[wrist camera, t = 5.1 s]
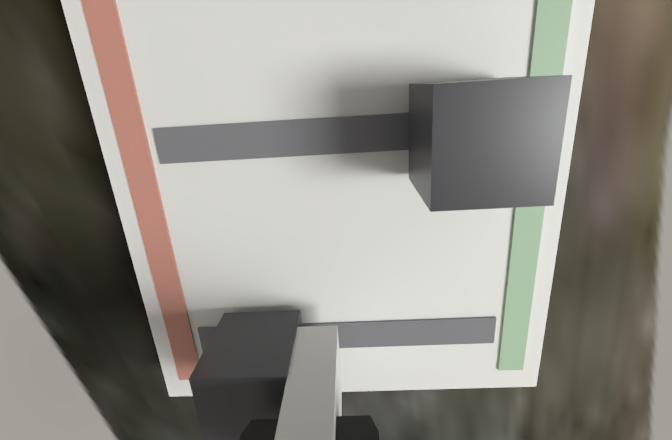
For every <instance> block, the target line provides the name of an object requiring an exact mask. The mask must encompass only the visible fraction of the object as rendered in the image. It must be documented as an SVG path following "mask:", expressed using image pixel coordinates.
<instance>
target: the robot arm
mask: <svg viewBox="0 0 672 440" xmlns="http://www.w3.org/2000/svg"><path fill="white" fill-rule="evenodd" d="M341 405H342V379H341V365H340V352H339V338H338V325H336V326H309V327H297V332H296V337H295V342H294V347H293V352H292V357H291V362H290V367H289V372H288V377H287V380H286V385H285V390H284V395H283V399H282V404H281V409H280V414H279V419H252V420H251V421H250V423H249V424H248V425H247V427H246V428H245V429H244V431H243V432H242V433H241V435H240V438H239V440H379V433H378V429H377V427H376V426H375V424H374V422H373V420H372V418H371V417H370V415H369V416H341Z"/></svg>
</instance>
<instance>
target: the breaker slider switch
mask: <svg viewBox="0 0 672 440" xmlns="http://www.w3.org/2000/svg"><path fill="white" fill-rule="evenodd" d="M297 327H302V321H301V312H300V310H285V311H259V312H233V313H224V314H223V316H222V318H221V320H220V321H219V323H218V325H217V327H216V329H215V331H214V333H213V335H212V336H211V338H210V340H209V342H208V344H207V346H206V348H205V350H204V351H203V353H202V355H201V357H200V359H199V361H198V363H197V365H196V366H195V368H194V370H193V372H192V374H191V376H190V378H189V382H190V386H191V390H192V394H193V399H194V403H195V407H196V411H197V415H198V419H199V423H200V427H201V431H202V435H203V439H204V440H239V438H240V435H241V433H242V432H243V431H244V429H245V428H246V427H247V425H248V424H249V423H250V421H251V420H252V419H279V414H280V409H281V404H282V399H283V395H284V390H285V385H286V380H287V377H288V372H289V367H290V362H291V357H292V352H293V347H294V342H295V337H296V332H297Z"/></svg>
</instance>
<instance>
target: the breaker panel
mask: <svg viewBox="0 0 672 440" xmlns="http://www.w3.org/2000/svg"><path fill="white" fill-rule="evenodd" d="M61 4H62V7H63V11H64V14H65V18H66V22H67V25H68V29H69V33H70V36H71V40H72V44H73V47H74V51H75V55H76V58H77V62H78V65H79V69H80V73H81V76H82V80H83V84H84V87H85V91H86V95H87V98H88V102H89V105H90V109H91V113H92V116H93V120H94V124H95V127H96V131H97V135H98V138H99V142H100V146H101V149H102V153H103V156H104V160H105V164H106V167H107V171H108V175H109V178H110V182H111V186H112V189H113V193H114V196H115V200H116V204H117V207H118V211H119V215H120V218H121V222H122V226H123V229H124V233H125V237H126V240H127V244H128V247H129V251H130V255H131V258H132V262H133V266H134V269H135V273H136V277H137V280H138V284H139V288H140V291H141V295H142V298H143V302H144V306H145V309H146V313H147V317H148V320H149V324H150V328H151V331H152V335H153V338H154V342H155V346H156V349H157V353H158V357H159V360H160V364H161V368H162V371H163V375H164V379H165V382H166V386H167V389H168V393H169V397H171V396H193V394H192V390H191V386H190V382H189V378H190V376H191V374H192V372H193V370H194V368H195V366H196V365H197V363H198V361H199V359H200V357H201V355H202V353H203V351H204V350H205V348H206V346H207V344H208V342H209V340H210V338H211V336H212V335H213V333H214V331H215V329H216V327H217V325H218V323H219V321H220V320H221V318H222V316H223V314H224V313H233V312H259V311H285V310H300V312H301V321H302V327H309V326H336V325H338V338H339V352H340V365H341V379H342V392H352V391H389V390H425V389H461V388H497V387H533V386H536V384H537V378H538V371H539V365H540V358H541V352H542V345H543V338H544V332H545V325H546V319H547V312H548V306H549V299H550V293H551V286H552V279H553V273H554V266H555V260H556V253H557V247H558V240H559V234H560V227H561V220H562V214H563V207H564V201H565V194H566V188H567V181H568V175H569V168H570V161H571V155H572V148H573V142H574V135H575V129H576V122H577V116H578V109H579V102H580V96H581V89H582V83H583V76H584V70H585V63H586V57H587V50H588V43H589V37H590V30H591V24H592V17H593V11H594V4H595V0H61ZM554 75H572V80H571V87H570V94H569V101H568V108H567V115H566V122H565V129H564V136H563V143H562V150H561V157H560V164H559V171H558V178H557V185H556V192H555V199H554V206H536V207H516V208H495V209H475V210H455V211H435V212H430V211H429V209H428V207H427V206H426V204H425V203H424V201H423V200H422V198H421V197H420V195H419V193H418V192H417V190H416V189H415V187H414V186H413V184H412V183H411V181H410V180H409V84H410V83H425V82H440V81H455V80H471V79H486V78H501V77H525V76H554Z"/></svg>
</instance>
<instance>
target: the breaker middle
mask: <svg viewBox="0 0 672 440" xmlns="http://www.w3.org/2000/svg"><path fill="white" fill-rule="evenodd" d="M571 80H572V75H554V76H525V77H501V78H486V79H471V80H455V81H440V82H425V83H410V84H409V180H410V181H411V183H412V184H413V186H414V187H415V189H416V190H417V192H418V193H419V195H420V197H421V198H422V200H423V201H424V203H425V204H426V206H427V207H428V209H429V211H430V212H435V211H455V210H475V209H495V208H516V207H536V206H554V199H555V192H556V185H557V178H558V171H559V164H560V157H561V150H562V143H563V136H564V129H565V122H566V115H567V108H568V101H569V94H570V87H571Z"/></svg>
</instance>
